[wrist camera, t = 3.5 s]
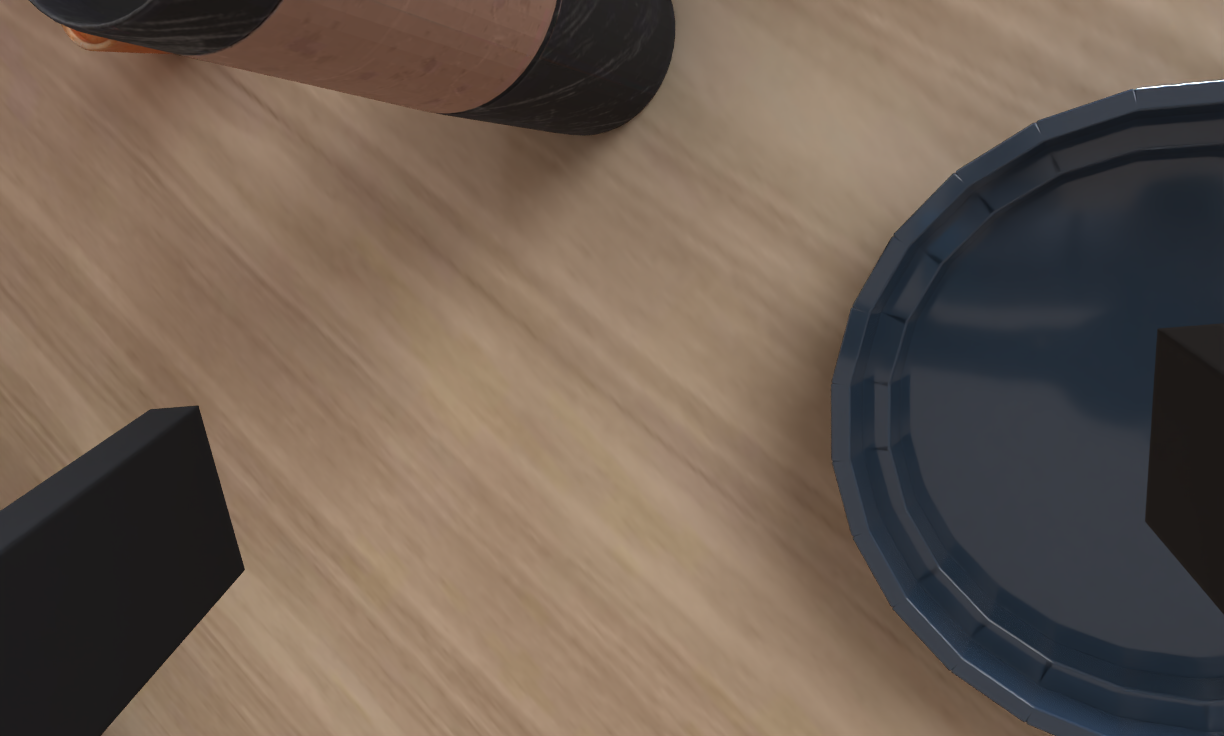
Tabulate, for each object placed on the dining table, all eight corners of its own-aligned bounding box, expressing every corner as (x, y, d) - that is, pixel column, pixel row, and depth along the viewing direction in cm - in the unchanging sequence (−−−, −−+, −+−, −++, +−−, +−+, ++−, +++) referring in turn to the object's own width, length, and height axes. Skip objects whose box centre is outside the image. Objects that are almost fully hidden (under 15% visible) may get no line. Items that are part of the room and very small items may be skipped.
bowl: (945, 59, 30) (923, 33, 27) (1717, 170, 23) (1829, 155, 19) (803, 580, 34) (768, 617, 31) (1422, 823, 27) (1469, 908, 23)
